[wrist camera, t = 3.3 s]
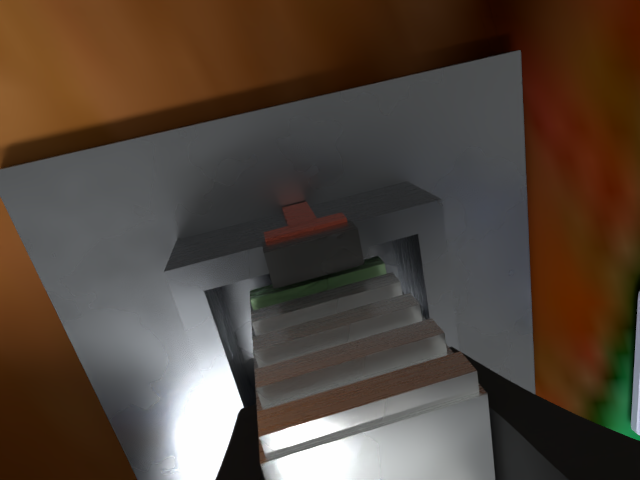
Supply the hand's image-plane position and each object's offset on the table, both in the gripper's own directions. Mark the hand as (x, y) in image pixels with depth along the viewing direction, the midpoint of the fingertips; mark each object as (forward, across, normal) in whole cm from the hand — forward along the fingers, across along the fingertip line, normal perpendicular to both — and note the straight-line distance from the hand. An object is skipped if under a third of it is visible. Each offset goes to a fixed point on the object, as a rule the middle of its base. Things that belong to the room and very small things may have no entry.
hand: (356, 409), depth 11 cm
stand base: (+6, 0, 0) cm, 6 cm away
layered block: (+4, 0, 0) cm, 4 cm away
